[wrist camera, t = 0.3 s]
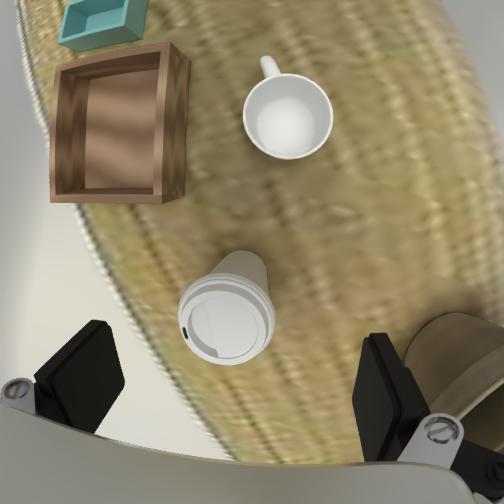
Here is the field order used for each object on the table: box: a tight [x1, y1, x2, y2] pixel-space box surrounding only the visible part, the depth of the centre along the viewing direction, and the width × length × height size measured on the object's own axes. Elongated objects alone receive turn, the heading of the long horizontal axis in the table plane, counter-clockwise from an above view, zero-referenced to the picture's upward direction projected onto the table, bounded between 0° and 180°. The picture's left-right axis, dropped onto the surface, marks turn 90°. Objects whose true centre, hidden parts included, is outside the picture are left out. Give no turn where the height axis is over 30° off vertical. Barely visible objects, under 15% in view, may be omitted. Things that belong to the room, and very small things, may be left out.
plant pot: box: [404, 313, 504, 454], centre depth 33 cm, size 25×25×22 cm
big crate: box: [49, 42, 191, 204], centre depth 34 cm, size 18×16×8 cm
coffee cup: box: [178, 250, 276, 365], centre depth 35 cm, size 10×10×15 cm
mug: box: [243, 56, 333, 160], centre depth 31 cm, size 12×8×10 cm
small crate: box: [58, 0, 149, 52], centre depth 31 cm, size 7×11×6 cm, turn 87°
